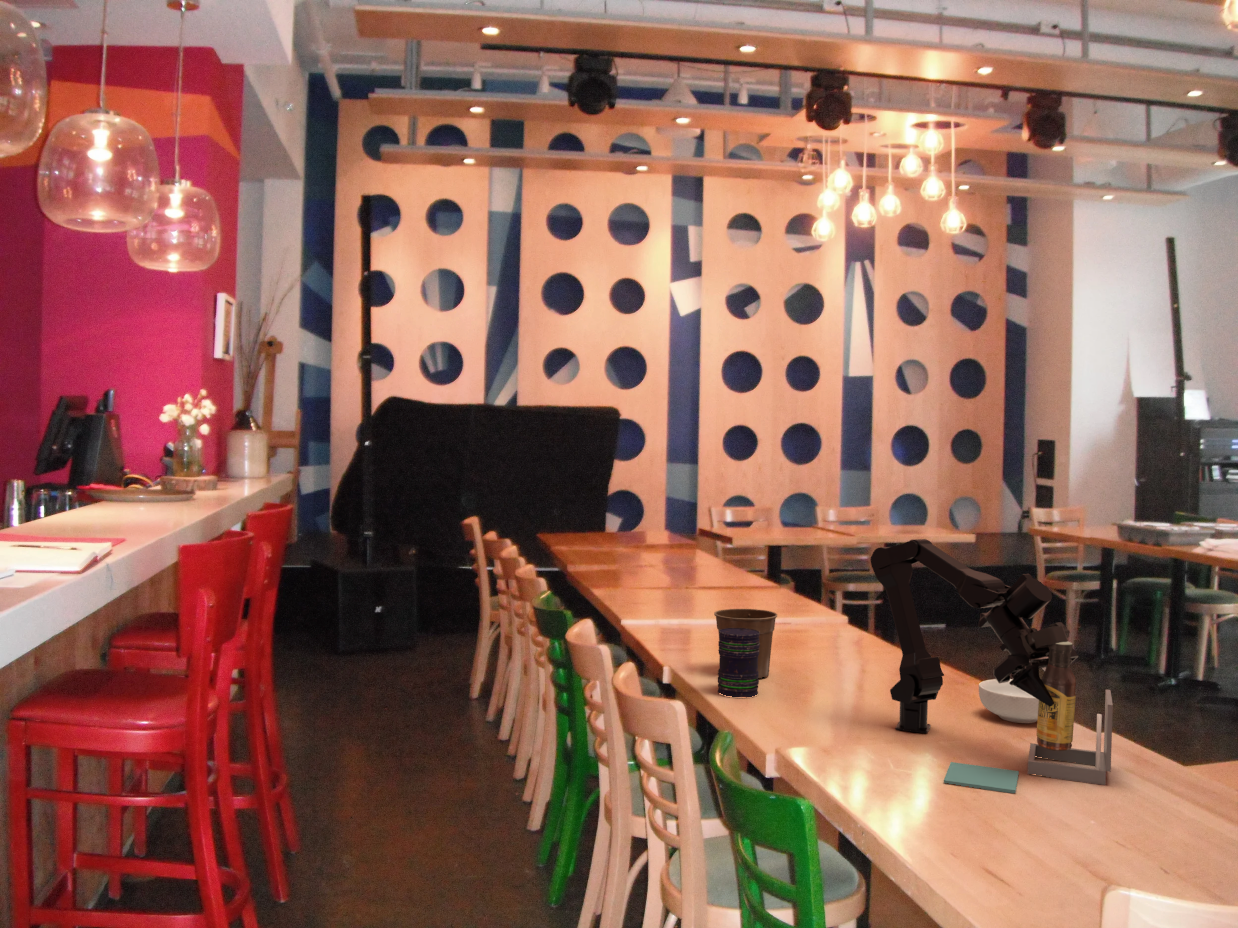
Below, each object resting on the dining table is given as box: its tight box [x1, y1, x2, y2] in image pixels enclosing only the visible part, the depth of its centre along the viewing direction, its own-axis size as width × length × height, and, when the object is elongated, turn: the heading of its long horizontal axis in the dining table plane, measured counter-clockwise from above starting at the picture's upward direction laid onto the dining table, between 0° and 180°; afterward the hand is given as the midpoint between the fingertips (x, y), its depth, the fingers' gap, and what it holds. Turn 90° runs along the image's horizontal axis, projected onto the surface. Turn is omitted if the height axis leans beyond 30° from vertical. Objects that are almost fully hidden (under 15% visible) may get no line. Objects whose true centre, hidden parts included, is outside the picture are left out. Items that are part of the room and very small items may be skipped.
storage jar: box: [717, 628, 760, 698], centre depth 251 cm, size 10×10×15 cm
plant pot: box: [714, 608, 778, 679], centre depth 271 cm, size 16×16×16 cm
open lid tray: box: [1027, 689, 1114, 786], centre depth 196 cm, size 13×14×14 cm
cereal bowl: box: [978, 678, 1039, 724], centre depth 233 cm, size 17×17×7 cm
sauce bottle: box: [1036, 641, 1077, 751], centre depth 194 cm, size 7×6×20 cm
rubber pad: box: [943, 761, 1020, 794], centre depth 190 cm, size 12×12×1 cm
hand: (1062, 703), depth 193 cm, fingers closed on sauce bottle, 6 cm apart
